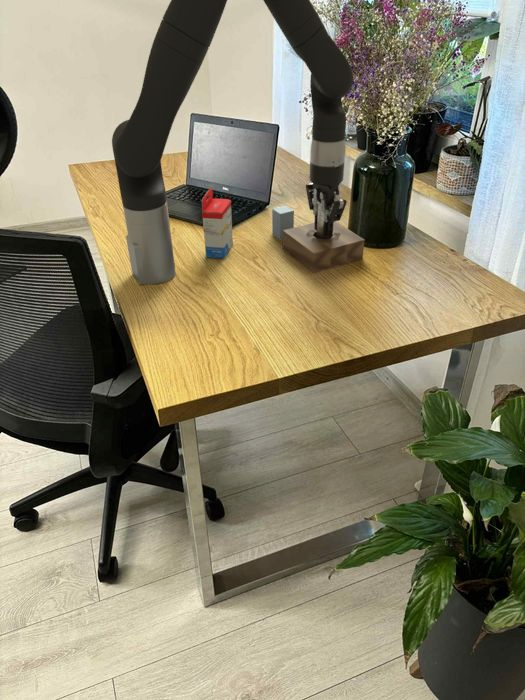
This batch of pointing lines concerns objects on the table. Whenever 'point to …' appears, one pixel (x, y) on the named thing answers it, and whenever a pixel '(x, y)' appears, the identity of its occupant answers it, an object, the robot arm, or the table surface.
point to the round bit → (321, 222)
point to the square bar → (282, 220)
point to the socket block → (322, 247)
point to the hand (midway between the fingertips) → (323, 232)
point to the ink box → (217, 225)
